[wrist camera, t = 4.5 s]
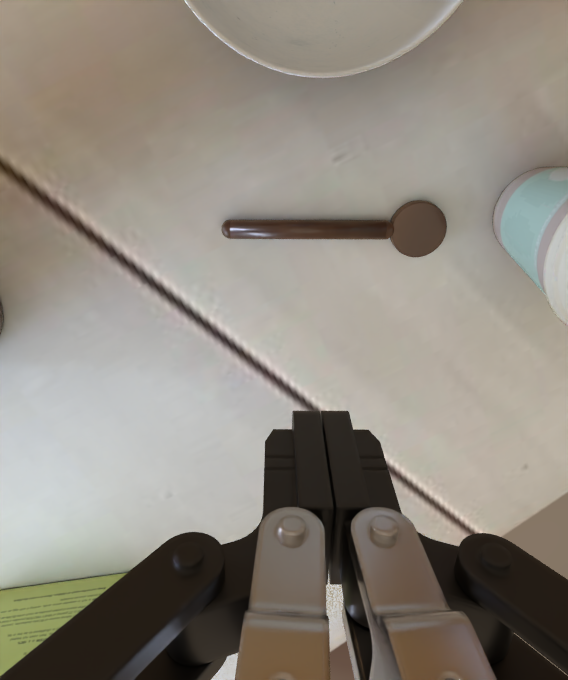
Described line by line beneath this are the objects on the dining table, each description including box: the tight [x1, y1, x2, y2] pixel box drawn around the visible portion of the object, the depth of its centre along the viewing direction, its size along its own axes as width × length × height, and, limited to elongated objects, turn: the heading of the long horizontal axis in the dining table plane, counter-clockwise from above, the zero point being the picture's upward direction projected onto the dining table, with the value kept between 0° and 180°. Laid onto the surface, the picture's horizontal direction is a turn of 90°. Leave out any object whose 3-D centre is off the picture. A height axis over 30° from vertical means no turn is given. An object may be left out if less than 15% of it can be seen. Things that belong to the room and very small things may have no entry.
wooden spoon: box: [222, 200, 447, 257], centre depth 33 cm, size 15×4×1 cm, turn 90°
